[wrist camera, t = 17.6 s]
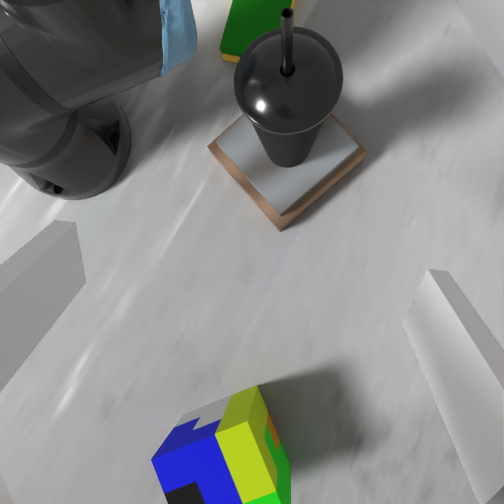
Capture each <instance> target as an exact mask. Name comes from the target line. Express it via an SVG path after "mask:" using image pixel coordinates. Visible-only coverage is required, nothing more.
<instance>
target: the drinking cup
mask: <svg viewBox="0 0 504 504" xmlns="http://www.w3.org/2000/svg"><path fill="white" fill-rule="evenodd" d="M293 15H294V12H293V9H292V8H290V7H285V8H283V9H282V10H281V28H277V29H274V30H271V31H268V32H266V33H264V34H262V35H261V36H259V37H258V38H256V39H255V40H254V41H253V42H252V43H251V44H250V45H249V46H248V47H247V48H246V49H245V51H244V52H243V54H242V56H241V57H240V59H239V61H238V64H237V67H236V70H235V75H234V91H235V96H236V99H237V102H238V105H239V107H240V109H241V110H242V112H243V114H244V115H245V116H246V117H247V119H248V120H249V121H251V123H252V125H253V127H254V129H255V131H256V133H257V135H258V137H259V139H260V141H261V143H262V145H263V147H264V149H265V151H266V153H267V155H268V157H269V158H270V160H271V161H272V162H273V163H274V164H276V165H278V166H280V167H284V168H291V167H295V166H297V165H299V164H301V163H302V162H303V161H304V160H305V159H306V158H307V156H308V154H309V152H310V150H311V148H312V146H313V144H314V142H315V140H316V137H317V135H318V133H319V131H320V129H321V127H322V125H323V123H324V121H325V119H326V118H327V117H328V115H329V114H330V113H331V112H332V110H333V109H334V107H335V106H336V104H337V102H338V99H339V97H340V94H341V90H342V85H343V69H342V64H341V61H340V59H339V56H338V54H337V52H336V51H335V49H334V48H333V46H332V45H331V44H330V43H329V42H328V41H327V40H326V39H325V38H324V37H322V36H321V35H319V34H318V33H316V32H314V31H312V30H309V29H306V28H301V27H293Z"/></svg>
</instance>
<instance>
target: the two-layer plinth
mask: <svg viewBox="0 0 504 504" xmlns="http://www.w3.org/2000/svg"><path fill="white" fill-rule="evenodd" d="M207 147H208V148H209V150H210V151H211V153H212V154H213V155H214V157H215V158H216V159H217V160H218V161H219V162H220V163H221V165H222V166H223V167H224V168H225V169H226V170H227V171H228V173H229V174H230V175H231V176H232V177H233V178H234V179H235V181H236V182H237V183H238V184H239V185H240V186H241V187H242V189H243V190H244V191H245V192H246V193H247V194H248V195H249V197H250V198H251V199H252V200H253V201H254V202H255V203H256V205H257V206H258V207H259V208H260V209H261V210H262V211H263V213H264V214H265V215H266V216H267V217H268V218H269V219H270V221H271V222H272V223H273V224H274V225H275V226H276V227H277V229H278V230H279V231H280V232H281V231H282V230H283V229H284V228H286V227H287V226H288V225H289V224H290V223H291V222H292V221H294V220H295V219H296V218H297V217H298V216H299V215H301V214H302V213H303V212H304V211H305V210H306V209H307V208H309V207H310V206H311V205H312V204H313V203H314V202H316V201H317V200H318V199H319V198H320V197H321V196H323V195H324V194H325V193H326V192H327V191H328V190H329V189H331V188H332V187H333V186H334V185H335V184H336V183H338V182H339V181H340V180H341V179H342V178H343V177H344V176H346V175H347V174H348V173H349V172H350V171H351V170H353V169H354V168H355V167H356V166H357V165H358V164H360V163H361V162H362V161H363V159H364V158H365V157H366V155H367V154H368V152H367V151H366V150H365V149H364V148H363V147H362V146H361V145H360V144H359V143H358V141H357V140H356V139H355V138H354V137H353V136H352V135H351V134H350V133H349V132H348V131H347V130H346V129H345V128H344V127H343V125H342V124H341V123H340V122H339V121H338V120H337V119H336V118H335V117H334V116H333V115H332V114H331V113H330V114H329V115H328V117H327V118H326V119H325V121H324V123H323V125H322V127H321V129H320V131H319V133H318V135H317V137H316V140H315V142H314V144H313V146H312V148H311V150H310V152H309V154H308V156H307V158H306V159H305V160H304V161H303V162H302V163H301V164H299V165H297V166H295V167H291V168H284V167H280V166H278V165H276V164H274V163H273V162H272V161H271V160H270V158H269V157H268V155H267V153H266V151H265V149H264V147H263V145H262V143H261V141H260V139H259V137H258V135H257V133H256V131H255V129H254V127H253V125H252V123H251V121H249V120H248V119H247V117H246V116H245V115H244V114H243V115H242V116H241V117H240V118H238V119H237V120H236V121H235V122H234V123H233V124H232V125H231V126H229V127H228V128H227V129H226V130H225V131H224V132H223V133H222V134H221V135H219V136H218V137H217V138H216V139H215V140H214V141H213V142H212V143H210V144H209V145H208V146H207Z"/></svg>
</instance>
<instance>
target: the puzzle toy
mask: <svg viewBox="0 0 504 504" xmlns="http://www.w3.org/2000/svg"><path fill="white" fill-rule="evenodd" d="M151 461H152V463H153V466H154V468H155V471H156V474H157V476H158V479H159V481H160V484H161V487H162V489H163V492H164V494H165V497H166V500H167V502H168V504H291V465H290V463H289V460H288V458H287V455H286V453H285V451H284V448H283V446H282V443H281V441H280V439H279V436H278V434H277V431H276V429H275V427H274V424H273V422H272V420H271V417H270V415H269V412H268V410H267V408H266V405H265V403H264V400H263V398H262V396H261V393H260V391H259V388H258V386H257V385H256V386H254V387H252V388H249V389H247V390H244V391H242V392H239V393H237V394H234V395H232V396H229V397H227V398H225V399H222V400H220V401H217V402H215V403H212V404H210V405H207V406H205V407H202V408H200V409H197V410H195V411H193V412H190V413H188V414H185V415H183V416H182V417H181V419H180V420H179V421H178V423H177V424H176V426H175V427H174V428H173V430H172V431H171V433H170V434H169V435H168V437H167V438H166V439H165V441H164V442H163V444H162V445H161V446H160V448H159V449H158V451H157V452H156V453H155V455H154V456H153V457H152V459H151Z"/></svg>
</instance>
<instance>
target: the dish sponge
mask: <svg viewBox="0 0 504 504" xmlns="http://www.w3.org/2000/svg"><path fill="white" fill-rule="evenodd" d="M294 3H295V0H233V2H232V5H231V9H230V12H229V16H228V20H227V23H226V27H225V30H224V34H223V38H222V41H221V45H220V50H221V54H222V57H223V59H224V60H225V61H230V62H235V63H238V61H239V59H240V57H241V56H242V54H243V52H244V51H245V49H246V48H247V47H248V46H249V45H250V44H251V43H252V42H253V41H254V40H255V39H256V38H258V37H259V36H261V35H262V34H264V33H266V32H268V31H271V30H274V29H277V28H281V10H282V9H283V8H285V7H290V8H292V9H293V6H294Z"/></svg>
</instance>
